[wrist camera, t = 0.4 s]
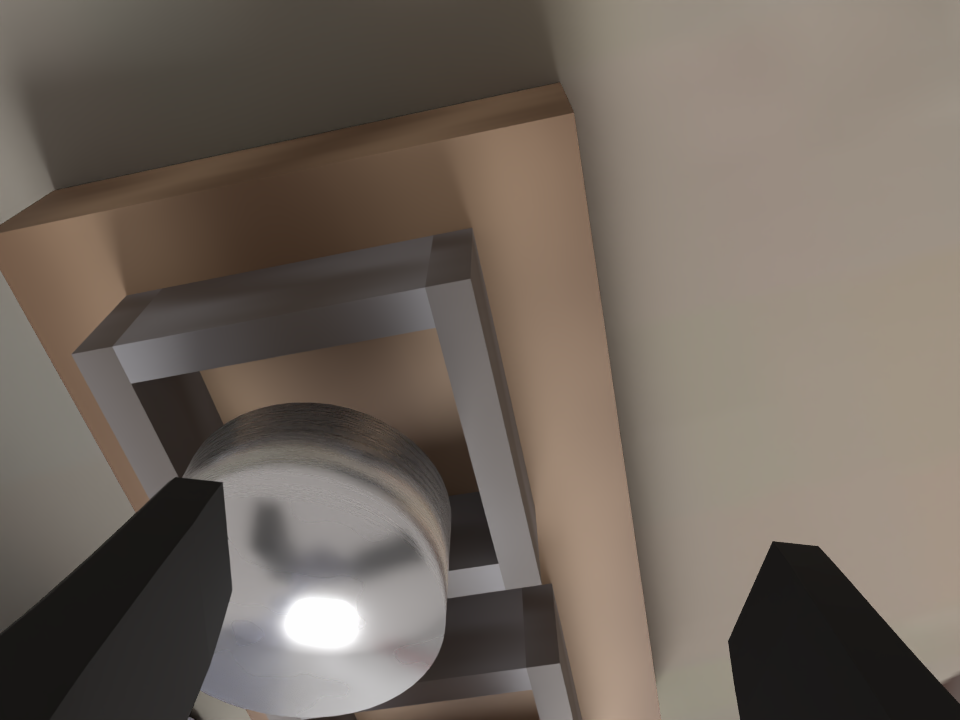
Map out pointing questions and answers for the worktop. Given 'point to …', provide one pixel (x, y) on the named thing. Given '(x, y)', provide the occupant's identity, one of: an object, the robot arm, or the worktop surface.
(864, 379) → the worktop surface
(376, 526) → the steel plunger
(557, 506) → the press panel
